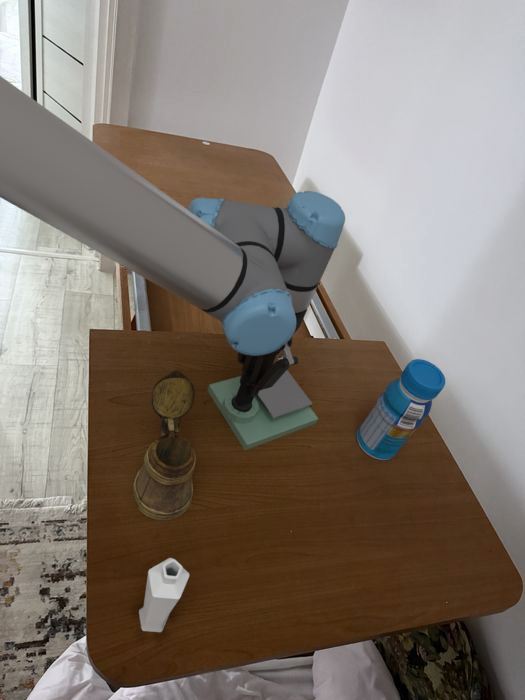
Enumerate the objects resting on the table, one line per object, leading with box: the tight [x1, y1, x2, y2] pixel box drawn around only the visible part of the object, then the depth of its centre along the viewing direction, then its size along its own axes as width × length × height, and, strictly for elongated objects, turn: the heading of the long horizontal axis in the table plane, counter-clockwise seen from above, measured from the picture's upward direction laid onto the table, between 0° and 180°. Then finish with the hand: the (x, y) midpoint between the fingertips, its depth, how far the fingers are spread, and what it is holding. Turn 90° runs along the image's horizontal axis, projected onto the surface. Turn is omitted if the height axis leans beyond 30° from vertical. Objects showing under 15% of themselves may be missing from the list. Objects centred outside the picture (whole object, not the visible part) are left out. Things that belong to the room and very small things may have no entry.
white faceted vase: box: [138, 557, 190, 633], centre depth 59 cm, size 5×4×15 cm
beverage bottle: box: [356, 358, 446, 461], centre depth 89 cm, size 8×8×20 cm
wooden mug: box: [131, 369, 196, 521], centre depth 72 cm, size 9×14×18 cm, turn 13°
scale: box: [206, 375, 319, 451], centre depth 92 cm, size 17×14×4 cm
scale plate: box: [256, 369, 314, 419], centre depth 93 cm, size 9×10×1 cm
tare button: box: [232, 397, 251, 412], centre depth 89 cm, size 3×3×2 cm
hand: (243, 401), depth 88 cm, fingers closed
